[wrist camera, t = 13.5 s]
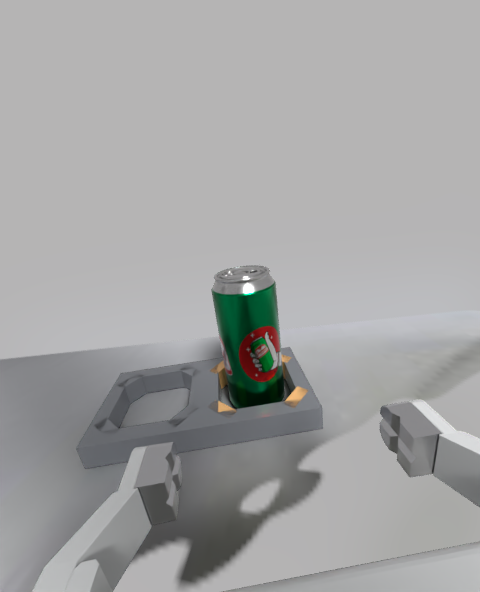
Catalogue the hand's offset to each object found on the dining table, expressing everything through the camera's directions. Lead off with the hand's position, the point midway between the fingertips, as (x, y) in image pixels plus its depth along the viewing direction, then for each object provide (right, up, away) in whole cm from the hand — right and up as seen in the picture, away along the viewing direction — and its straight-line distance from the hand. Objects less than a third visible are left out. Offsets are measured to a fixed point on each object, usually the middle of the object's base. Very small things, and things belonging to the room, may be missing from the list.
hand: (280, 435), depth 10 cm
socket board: (-5, -5, +14) cm, 15 cm away
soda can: (0, -4, +14) cm, 14 cm away
